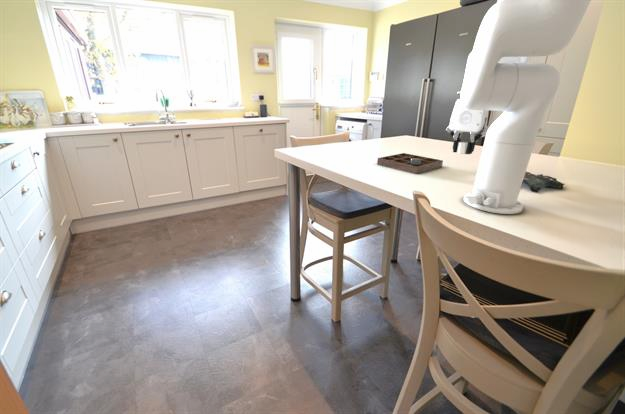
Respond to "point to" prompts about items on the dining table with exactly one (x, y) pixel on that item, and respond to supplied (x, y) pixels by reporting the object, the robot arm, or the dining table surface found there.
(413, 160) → the black stone
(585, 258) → the dining table surface
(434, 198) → the dining table surface
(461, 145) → the white stone
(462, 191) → the dining table surface
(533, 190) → the decorative rock
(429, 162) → the board
